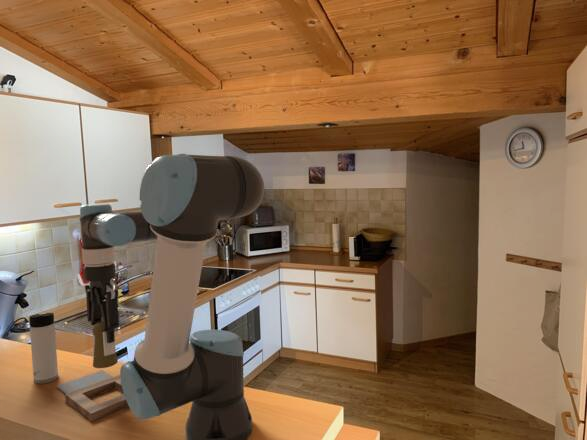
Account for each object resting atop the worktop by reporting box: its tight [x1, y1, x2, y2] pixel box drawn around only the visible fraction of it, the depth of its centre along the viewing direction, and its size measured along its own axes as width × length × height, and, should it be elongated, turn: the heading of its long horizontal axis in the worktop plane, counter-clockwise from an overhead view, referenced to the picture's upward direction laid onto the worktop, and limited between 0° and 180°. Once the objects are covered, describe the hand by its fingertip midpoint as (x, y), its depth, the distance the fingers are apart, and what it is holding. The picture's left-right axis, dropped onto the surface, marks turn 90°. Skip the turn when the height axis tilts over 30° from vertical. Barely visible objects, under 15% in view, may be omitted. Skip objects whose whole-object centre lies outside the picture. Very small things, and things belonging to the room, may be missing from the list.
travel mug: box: [29, 312, 59, 385], centre depth 127 cm, size 6×7×20 cm
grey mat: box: [56, 369, 114, 395], centre depth 125 cm, size 9×13×1 cm
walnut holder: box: [64, 374, 129, 422], centre depth 116 cm, size 15×15×2 cm
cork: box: [91, 322, 119, 369], centre depth 114 cm, size 6×6×11 cm
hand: (104, 351), depth 115 cm, fingers closed on cork, 5 cm apart
